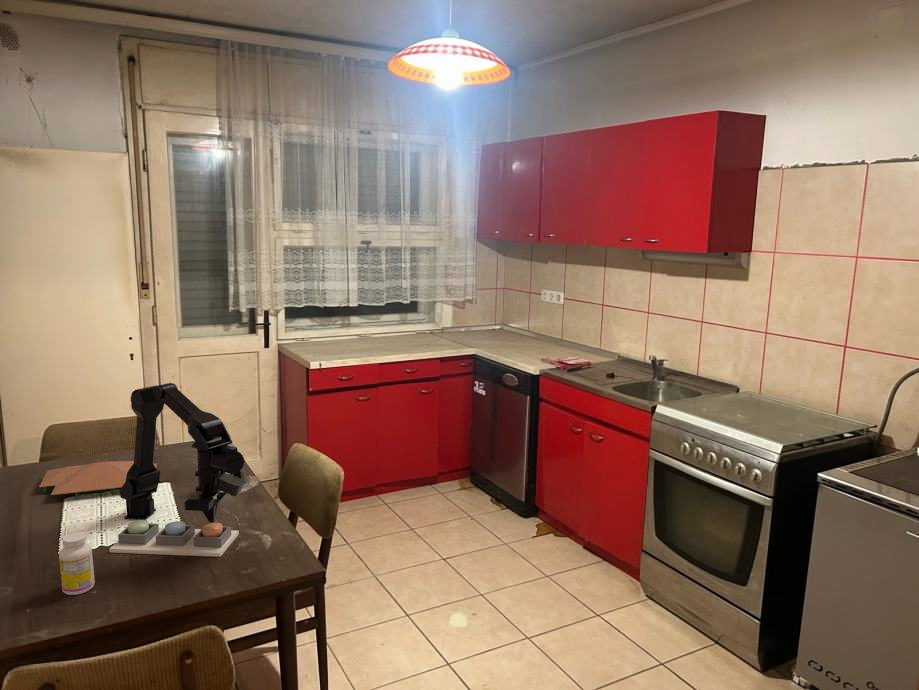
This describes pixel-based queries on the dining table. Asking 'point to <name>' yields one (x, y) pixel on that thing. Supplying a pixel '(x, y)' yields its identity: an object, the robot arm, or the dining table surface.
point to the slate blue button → (175, 528)
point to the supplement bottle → (76, 564)
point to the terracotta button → (212, 530)
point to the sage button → (138, 527)
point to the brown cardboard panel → (87, 477)
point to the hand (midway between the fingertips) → (212, 522)
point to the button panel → (174, 542)
